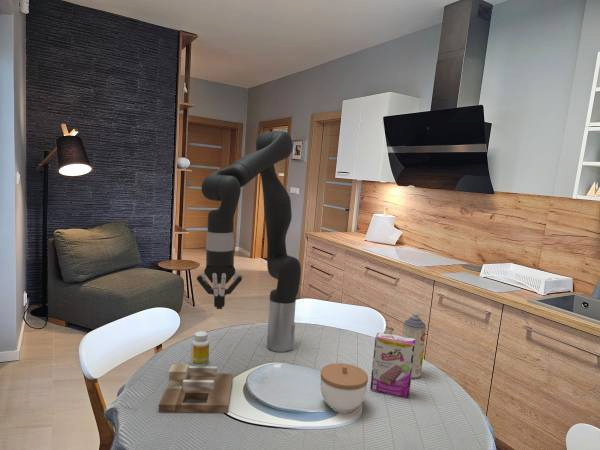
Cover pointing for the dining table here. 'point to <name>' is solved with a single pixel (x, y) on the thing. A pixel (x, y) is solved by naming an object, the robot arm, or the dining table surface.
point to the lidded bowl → (343, 386)
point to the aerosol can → (416, 331)
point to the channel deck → (199, 392)
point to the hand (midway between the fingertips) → (219, 308)
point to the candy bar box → (392, 364)
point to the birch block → (178, 374)
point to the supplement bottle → (200, 349)
